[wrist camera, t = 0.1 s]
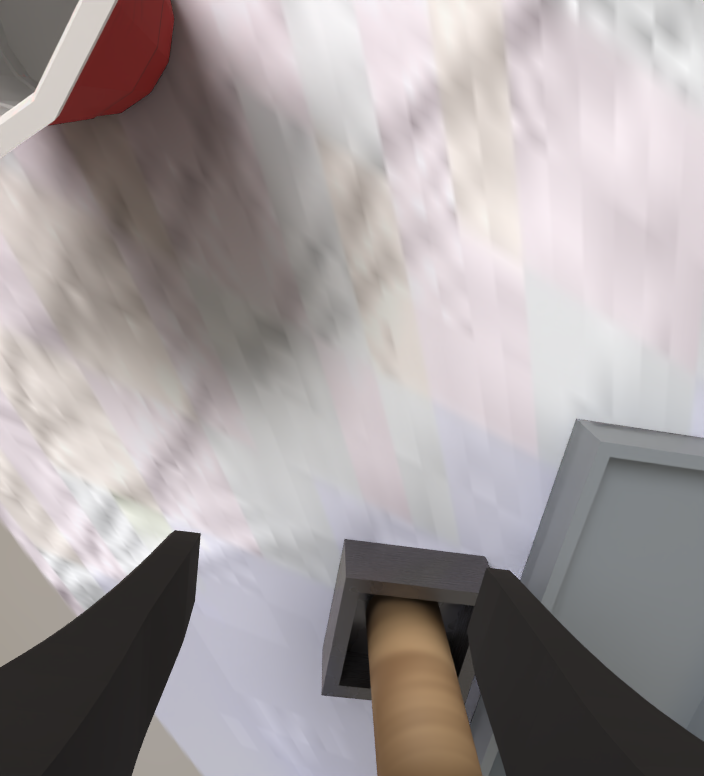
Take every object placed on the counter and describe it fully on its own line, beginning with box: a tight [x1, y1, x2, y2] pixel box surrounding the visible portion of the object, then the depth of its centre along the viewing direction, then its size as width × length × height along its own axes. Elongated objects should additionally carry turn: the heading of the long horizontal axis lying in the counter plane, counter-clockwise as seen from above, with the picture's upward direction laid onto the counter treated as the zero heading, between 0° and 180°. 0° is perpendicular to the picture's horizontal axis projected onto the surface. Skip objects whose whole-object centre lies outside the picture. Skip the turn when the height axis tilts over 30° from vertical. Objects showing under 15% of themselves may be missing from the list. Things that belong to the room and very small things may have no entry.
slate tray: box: [470, 419, 704, 776], centre depth 26 cm, size 20×12×2 cm, turn 170°
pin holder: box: [322, 539, 489, 705], centre depth 25 cm, size 7×7×3 cm
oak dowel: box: [365, 594, 482, 776], centre depth 22 cm, size 4×4×8 cm
